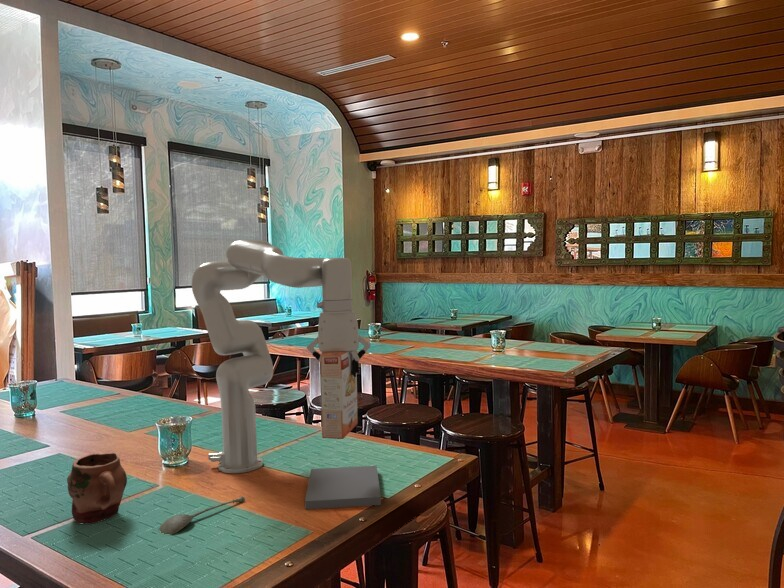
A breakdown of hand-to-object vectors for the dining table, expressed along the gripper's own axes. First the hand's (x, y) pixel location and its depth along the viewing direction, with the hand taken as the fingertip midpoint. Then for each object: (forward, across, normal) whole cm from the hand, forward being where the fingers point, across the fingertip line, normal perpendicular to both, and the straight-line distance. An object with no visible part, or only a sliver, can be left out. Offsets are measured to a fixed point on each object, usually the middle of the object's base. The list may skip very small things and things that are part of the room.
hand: (339, 375), depth 149 cm
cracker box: (+14, 0, 0) cm, 14 cm away
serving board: (+29, 0, 0) cm, 29 cm away
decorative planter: (+30, -57, -9) cm, 65 cm away
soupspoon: (+30, -32, -12) cm, 46 cm away
